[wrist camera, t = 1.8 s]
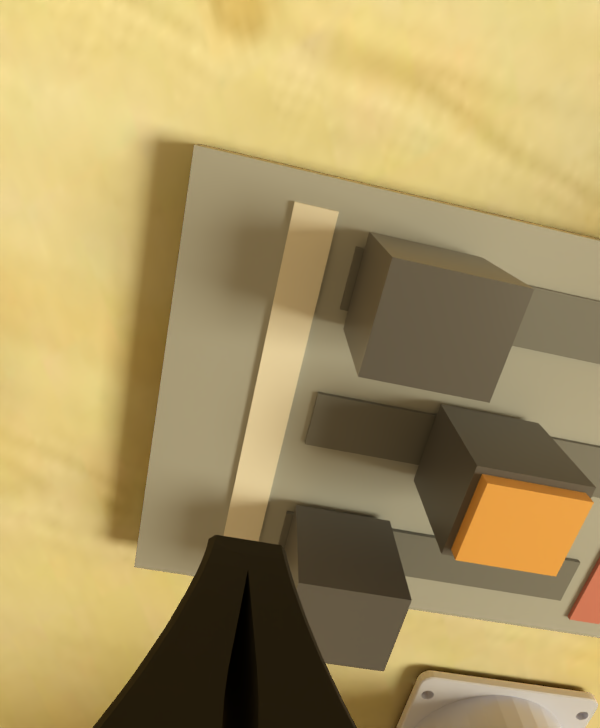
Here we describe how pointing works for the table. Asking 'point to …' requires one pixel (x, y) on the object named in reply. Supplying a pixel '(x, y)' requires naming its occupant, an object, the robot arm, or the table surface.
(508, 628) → the table surface
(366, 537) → the block
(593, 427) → the breaker panel
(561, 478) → the breaker mid
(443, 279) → the block
